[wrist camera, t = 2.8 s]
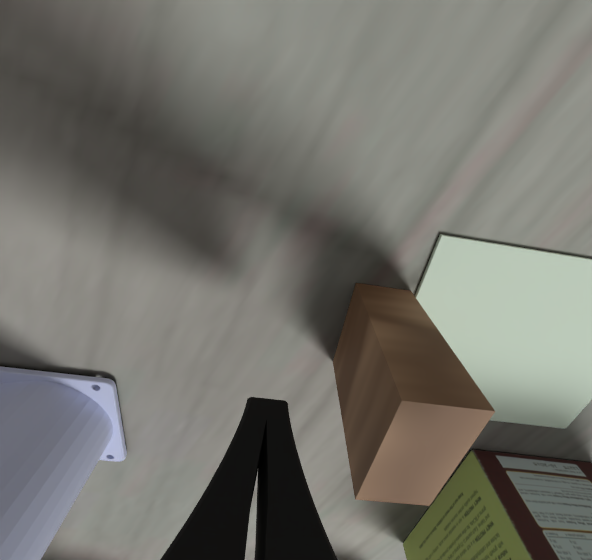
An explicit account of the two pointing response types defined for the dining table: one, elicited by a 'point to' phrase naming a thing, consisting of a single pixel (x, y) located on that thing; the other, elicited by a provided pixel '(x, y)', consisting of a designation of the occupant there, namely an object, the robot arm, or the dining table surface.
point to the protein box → (508, 511)
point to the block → (402, 399)
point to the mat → (515, 325)
